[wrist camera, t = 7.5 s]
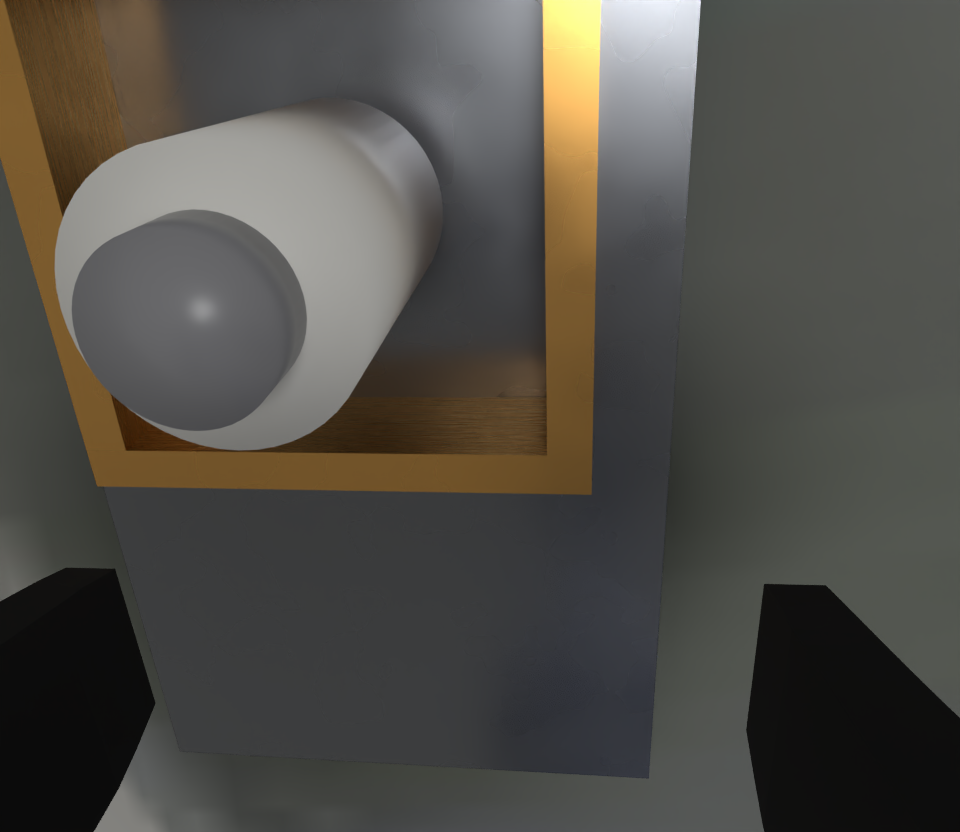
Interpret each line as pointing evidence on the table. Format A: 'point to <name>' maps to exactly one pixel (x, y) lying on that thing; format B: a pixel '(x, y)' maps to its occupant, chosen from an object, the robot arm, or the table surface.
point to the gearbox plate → (407, 379)
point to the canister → (248, 267)
